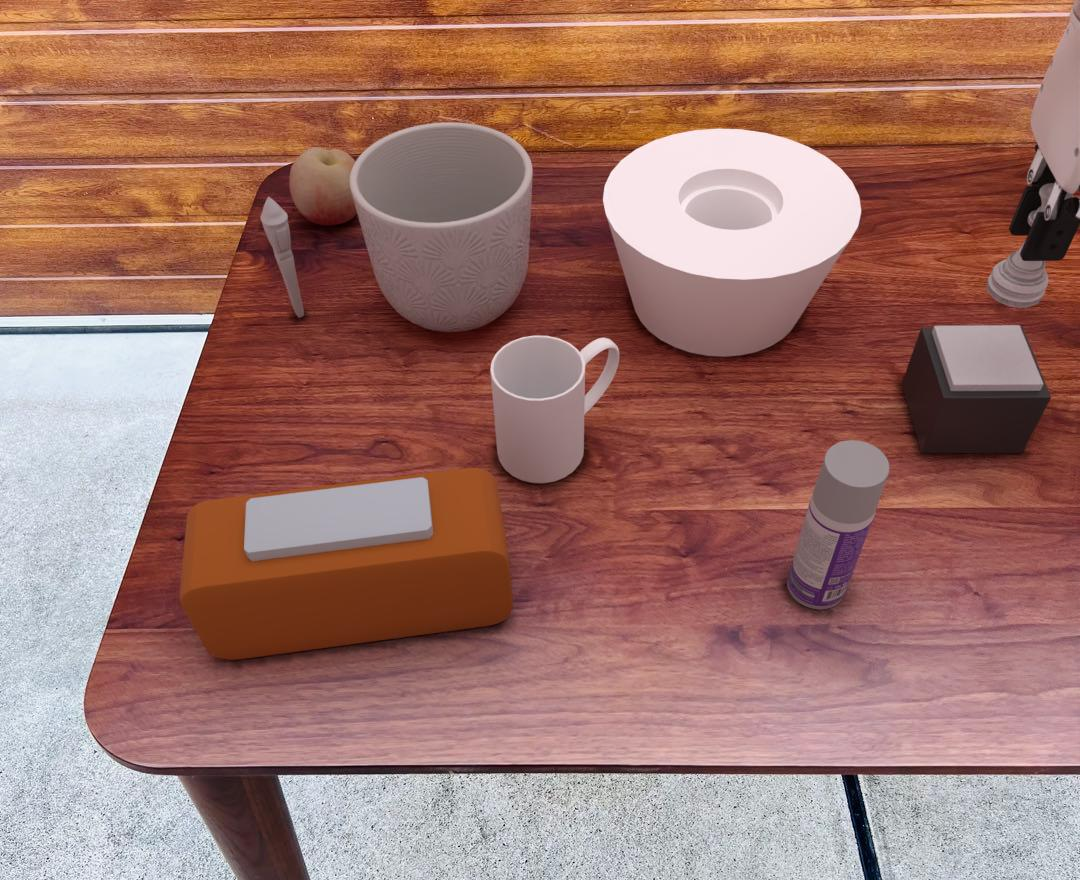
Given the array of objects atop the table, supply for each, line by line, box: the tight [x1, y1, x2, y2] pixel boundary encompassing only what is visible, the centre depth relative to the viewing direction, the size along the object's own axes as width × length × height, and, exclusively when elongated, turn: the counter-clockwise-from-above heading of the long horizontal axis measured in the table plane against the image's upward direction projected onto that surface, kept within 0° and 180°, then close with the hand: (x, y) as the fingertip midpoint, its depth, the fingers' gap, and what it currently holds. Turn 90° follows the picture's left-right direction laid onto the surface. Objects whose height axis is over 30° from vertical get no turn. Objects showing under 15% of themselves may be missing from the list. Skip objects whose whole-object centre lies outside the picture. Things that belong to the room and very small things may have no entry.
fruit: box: [288, 146, 357, 226], centre depth 111 cm, size 8×8×8 cm
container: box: [786, 439, 890, 610], centre depth 76 cm, size 5×5×15 cm
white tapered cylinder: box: [602, 128, 862, 358], centre depth 99 cm, size 24×24×12 cm
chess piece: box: [985, 183, 1074, 309], centre depth 78 cm, size 4×4×10 cm
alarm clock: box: [179, 467, 514, 661], centre depth 78 cm, size 24×8×11 cm, turn 98°
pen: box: [259, 196, 305, 319], centre depth 99 cm, size 2×3×14 cm
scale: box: [901, 324, 1052, 454], centre depth 90 cm, size 9×9×8 cm
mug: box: [489, 335, 620, 484], centre depth 88 cm, size 12×8×10 cm, turn 124°
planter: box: [350, 121, 534, 333], centre depth 99 cm, size 17×17×15 cm
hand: (1035, 243), depth 78 cm, fingers closed on chess piece, 2 cm apart
